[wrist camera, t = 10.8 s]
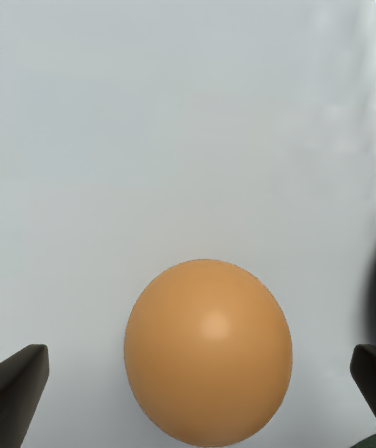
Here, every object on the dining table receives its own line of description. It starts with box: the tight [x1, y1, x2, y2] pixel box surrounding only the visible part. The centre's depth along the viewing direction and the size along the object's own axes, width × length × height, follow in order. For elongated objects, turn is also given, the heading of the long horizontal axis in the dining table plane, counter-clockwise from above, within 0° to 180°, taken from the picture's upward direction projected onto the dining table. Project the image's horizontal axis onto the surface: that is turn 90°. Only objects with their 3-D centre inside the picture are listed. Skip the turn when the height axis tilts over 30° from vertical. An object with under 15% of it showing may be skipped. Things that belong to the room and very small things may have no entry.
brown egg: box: [124, 259, 293, 447], centre depth 8 cm, size 5×5×5 cm
